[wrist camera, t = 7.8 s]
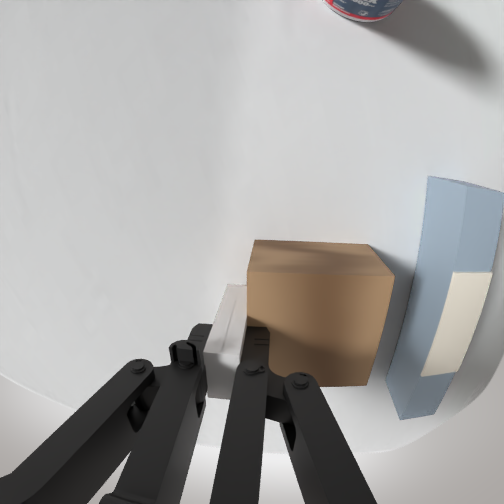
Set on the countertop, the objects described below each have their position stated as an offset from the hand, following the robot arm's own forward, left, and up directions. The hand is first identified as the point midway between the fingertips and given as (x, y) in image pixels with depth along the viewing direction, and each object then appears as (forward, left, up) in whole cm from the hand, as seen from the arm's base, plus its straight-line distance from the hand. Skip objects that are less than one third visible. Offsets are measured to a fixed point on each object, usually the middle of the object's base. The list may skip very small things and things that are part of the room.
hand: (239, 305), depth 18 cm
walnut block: (+4, 0, -2) cm, 5 cm away
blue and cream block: (+13, 0, -2) cm, 13 cm away
